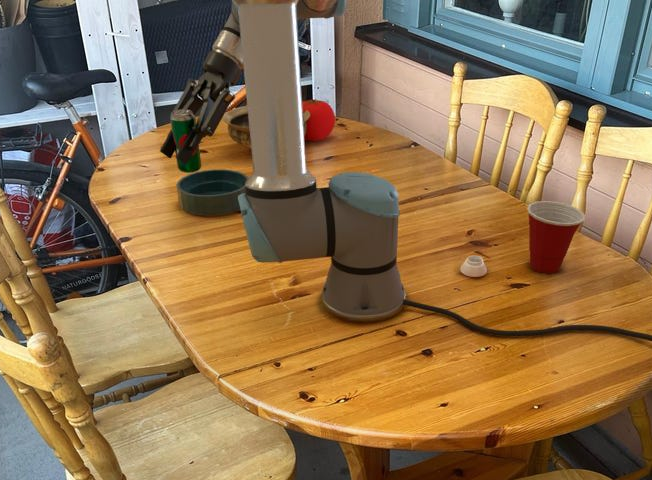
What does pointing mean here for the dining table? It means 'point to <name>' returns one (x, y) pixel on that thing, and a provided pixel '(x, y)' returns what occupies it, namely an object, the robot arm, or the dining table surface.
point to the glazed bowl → (211, 191)
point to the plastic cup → (551, 233)
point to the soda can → (180, 130)
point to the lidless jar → (473, 267)
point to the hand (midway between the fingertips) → (173, 157)
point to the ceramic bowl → (245, 125)
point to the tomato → (318, 119)
